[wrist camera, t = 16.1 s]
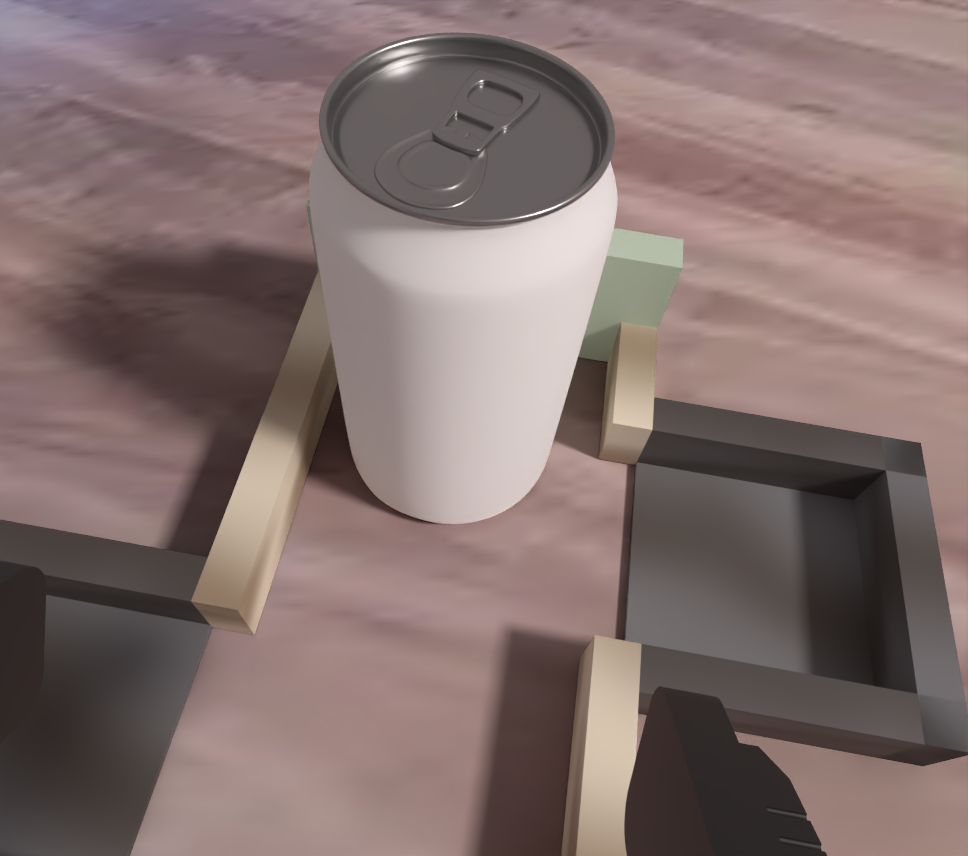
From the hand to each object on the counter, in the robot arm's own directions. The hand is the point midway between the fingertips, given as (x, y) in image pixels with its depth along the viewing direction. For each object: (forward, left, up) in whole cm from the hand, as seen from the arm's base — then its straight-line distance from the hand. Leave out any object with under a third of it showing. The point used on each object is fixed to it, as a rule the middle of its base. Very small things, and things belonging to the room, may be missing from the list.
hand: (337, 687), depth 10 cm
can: (+7, +7, -11) cm, 15 cm away
